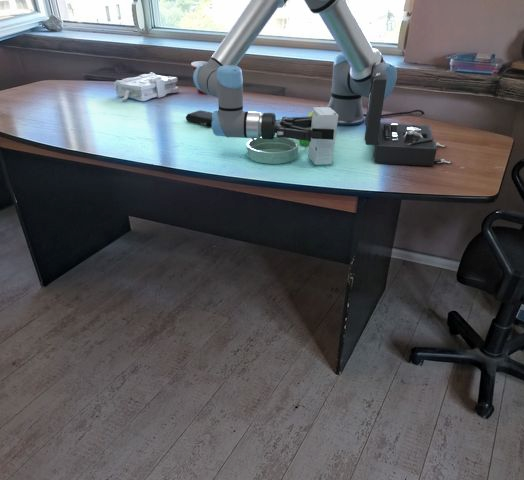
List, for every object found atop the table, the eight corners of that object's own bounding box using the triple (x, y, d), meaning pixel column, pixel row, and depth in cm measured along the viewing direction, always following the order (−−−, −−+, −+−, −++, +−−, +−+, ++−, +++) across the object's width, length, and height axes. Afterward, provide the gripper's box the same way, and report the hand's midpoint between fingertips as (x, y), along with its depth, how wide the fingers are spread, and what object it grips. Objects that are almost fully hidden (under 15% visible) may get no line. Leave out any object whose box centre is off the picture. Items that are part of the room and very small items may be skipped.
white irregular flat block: (106, 98, 215) (102, 79, 210) (151, 87, 232) (149, 68, 227) (136, 105, 206) (132, 85, 201) (181, 92, 224) (179, 74, 219)
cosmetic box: (307, 156, 156) (311, 106, 146) (325, 155, 157) (329, 106, 147) (315, 165, 150) (319, 114, 140) (333, 164, 151) (339, 113, 141)
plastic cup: (207, 96, 218) (205, 66, 210) (188, 93, 222) (186, 63, 215) (221, 91, 225) (220, 62, 217) (202, 88, 229) (201, 60, 222)
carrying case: (181, 122, 186) (209, 129, 180) (180, 114, 184) (209, 121, 178) (200, 116, 193) (228, 123, 186) (199, 108, 191) (228, 114, 184)
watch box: (451, 168, 150) (474, 80, 134) (360, 162, 153) (372, 76, 137) (442, 142, 169) (461, 62, 153) (362, 138, 173) (372, 59, 157)
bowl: (299, 149, 163) (300, 137, 161) (294, 166, 151) (295, 154, 148) (251, 146, 165) (251, 135, 162) (242, 163, 152) (242, 151, 150)
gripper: (267, 128, 160) (334, 131, 158) (256, 149, 143) (331, 154, 141) (267, 103, 155) (337, 107, 153) (256, 122, 139) (334, 126, 136)
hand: (334, 129), depth 147 cm, fingers closed on cosmetic box, 9 cm apart
